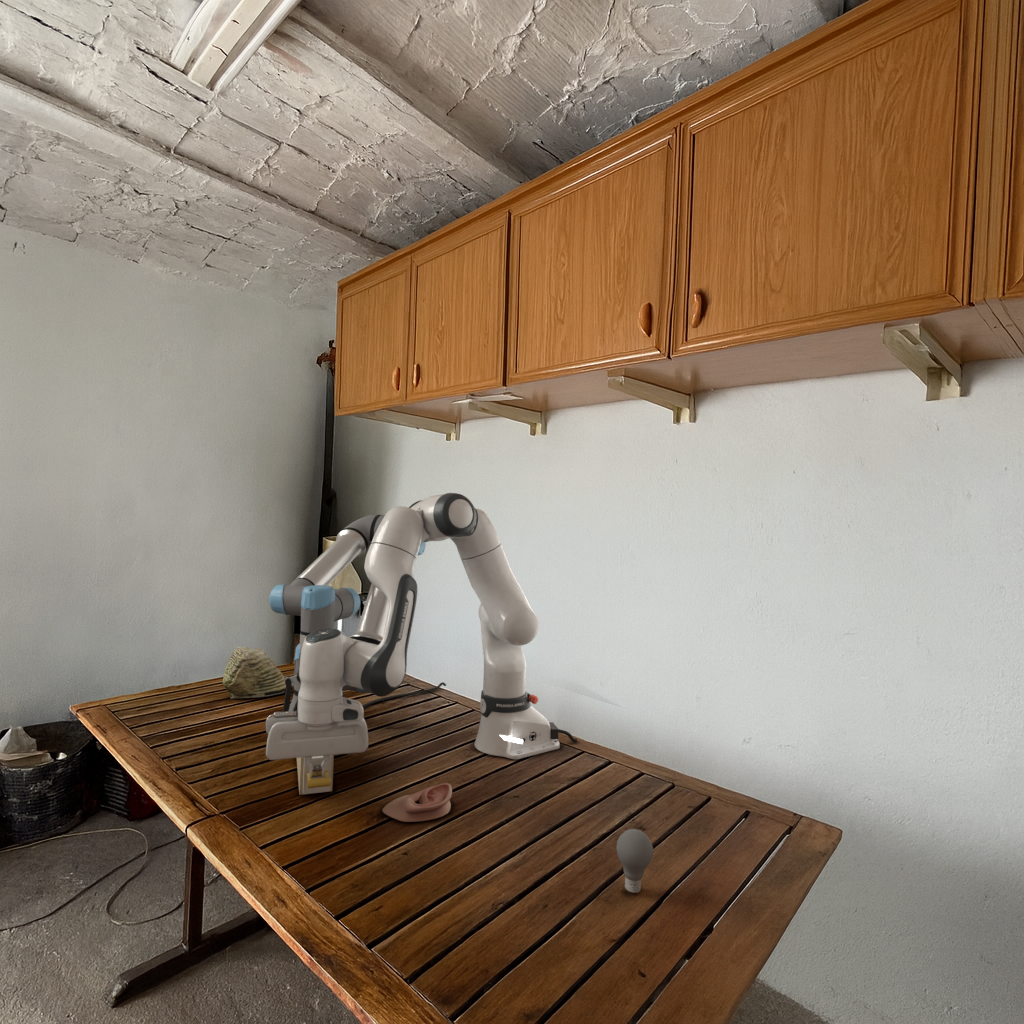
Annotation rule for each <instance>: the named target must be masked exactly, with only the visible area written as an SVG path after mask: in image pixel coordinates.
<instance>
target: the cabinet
mask: <svg viewBox="0 0 1024 1024" xmlns="http://www.w3.org/2000/svg"><path fill="white" fill-rule="evenodd" d="M331 756H332V761H331V786H330V791H329V792H333V785H334V784H333V783H334V782H333V781H334V780H333V779H334V757H335V755H331ZM296 766H297V767H296V769H297V782H298V793H299V796H303V795H304V794H303V773H304V757H301V758H296Z"/></svg>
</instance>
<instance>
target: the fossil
mask: <svg viewBox="0 0 1024 1024" xmlns="http://www.w3.org/2000/svg"><path fill="white" fill-rule="evenodd" d="M222 676H223V677H222V685H223V687H224V688H225V690H226V691H228V693H229V698H230V699H250V698H264V697H271V696H275V695H281V694H284V693H285V692H286V684H285V677H286V676H284V674H283V673H282V672H281V669H279V668H278V667H277V665H276V663H275V662H274V660H273V659H272V658H271V657H270V656H269V655H268V654H267V653H266V652H265V650H264V649H263V648H260V647H258V648H251V647H247V646H246V647H245V646H238V647H237V648H236V649H235V650H233V651H232V653H231V656H230V657H229V659H228V660H227V663H226V666H225V668H224V671H223V675H222Z"/></svg>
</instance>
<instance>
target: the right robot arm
mask: <svg viewBox="0 0 1024 1024" xmlns="http://www.w3.org/2000/svg"><path fill="white" fill-rule="evenodd" d="M384 515H385V516H384V518H383V520H382V521H381V523H380V525H379V527H378V529H377V531H376V533H375V535H374V537H373V540H372V542H371V545H370V547H369V550H368V552H366V556H365V560H364V567H363V568H364V571H365V572H364V573H365V574H366V577H367V579H368V580H369V582H370V583H371V584H373V585H374V586H375V587H377V588H378V589H379V590H380V591H382V592H383V593H384V594H385V595H386V597H387V599H388V602H389V610H388V615H387V620H386V624H385V629H384V634H383V639H382V641H381V643H380V644H379V645H375V644H371V643H367V642H364V641H360V640H356V639H352V638H349V637H350V636H348V635H345V634H344V633H342V631H341V630H340V629H337V628H333V629H332V628H327V629H320V630H316V631H313V632H311V633H310V634H308V635H307V636H306V638H305V640H304V642H303V645H302V650H301V656H300V667H299V677H300V681H301V686H300V690H299V693H298V710H297V711H286V712H283V711H274V712H273V713H272V714H270V715H268V717H266V719H265V724H264V725H265V726H264V730H265V732H266V734H267V738H266V746H265V757H266V758H267V759H268V760H269V761H276V760H289V759H297V758H301V757H304V759H305V763H306V765H307V767H308V768H309V777H319V776H324V770H325V768H326V766H327V765H328V763H329V761H330V760H331V755H334V756H335V755H348V754H358V753H359V754H361V753H365V752H366V750H367V749H368V748H369V731H368V730H369V729H368V725H367V722H366V719H365V717H364V715H365V711H364V708H363V706H362V705H363V704H362V702H360V701H359V700H357V699H352V698H348V697H344V691H343V692H342V688H343V686H345V685H350V686H352V687H356V688H359V689H363V690H365V691H367V692H366V693H368V692H369V694H371V695H374V696H377V697H380V698H384V697H388V696H390V694H392V693H395V691H397V689H398V688H400V687H401V685H402V684H403V682H404V680H405V678H406V674H407V665H408V662H407V660H408V648H409V644H410V638H411V633H412V628H413V622H414V617H415V611H416V606H417V600H418V589H419V588H418V583H417V581H416V579H415V578H414V572H415V571H414V570H415V565H416V561H417V558H418V552H419V548H420V547H421V545H422V543H423V542H426V543H428V542H442V541H446V540H448V539H450V540H451V542H453V543H454V545H455V547H456V549H457V552H458V555H459V559H460V561H461V562H462V563H461V564H462V566H463V568H464V571H465V573H466V576H467V578H468V581H469V583H470V586H471V588H472V590H473V591H474V593H475V594H476V596H477V598H478V600H479V602H480V604H479V607H478V618H479V623H480V636H481V644H482V654H483V679H482V680H483V681H482V682H483V683H482V690H481V692H480V701H479V702H480V703H479V709H480V719H479V725H478V730H477V734H476V738H475V741H474V743H473V744H474V748H475V749H476V750H477V751H480V752H481V753H483V754H487V755H490V756H495V757H504V758H507V759H510V760H520V759H525V758H527V757H532V756H536V755H540V754H544V753H547V752H551V751H555V750H558V749H560V747H561V745H560V741H559V734H562V735H565V736H566V737H568V738H569V740H570V741H571V742H573V743H577V742H578V739H577V738H575V737H573V735H572V733H570V732H569V731H566V730H564V729H560V728H558V726H557V725H556V724H555V723H554V722H553V721H552V722H551V721H549V720H548V719H547V718H546V717H545V716H544V715H543V714H542V713H541V712H539V711H538V710H537V709H536V708H535V707H534V706H532V705H531V704H533V705H537V703H538V702H539V697H538V696H537V695H535V694H531V693H530V692H528V691H526V679H527V677H526V676H527V661H526V657H525V654H524V648H523V646H526V645H528V644H529V643H531V642H532V641H533V640H534V639H535V638H536V636H537V634H538V632H539V627H540V626H539V624H540V623H539V619H538V616H537V614H536V613H535V612H534V610H533V608H532V607H531V604H530V603H529V600H528V598H527V597H526V593H524V591H523V588H522V587H521V585H520V583H519V582H518V580H517V578H516V576H515V574H514V573H513V570H512V568H511V565H510V563H509V560H508V558H507V555H506V553H505V550H504V547H503V545H502V542H501V539H500V537H499V535H498V533H497V531H496V529H495V527H494V525H493V523H492V522H491V519H490V518H489V517H488V515H487V513H486V512H485V511H484V510H482V509H481V508H476V507H475V505H474V504H473V503H472V501H471V500H470V499H469V498H468V497H467V496H465V495H464V494H461V493H457V492H447V493H444V494H443V493H442V494H436V495H431V496H429V497H427V498H424V499H421V500H417V501H416V502H414V503H412V504H411V505H409V506H401V505H399V506H394V507H392V508H390V509H388V511H387V512H386V513H385V514H384ZM313 756H323V759H324V760H323V762H322V764H321V765H317V766H313V765H312V763H311V761H312V757H313Z"/></svg>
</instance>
